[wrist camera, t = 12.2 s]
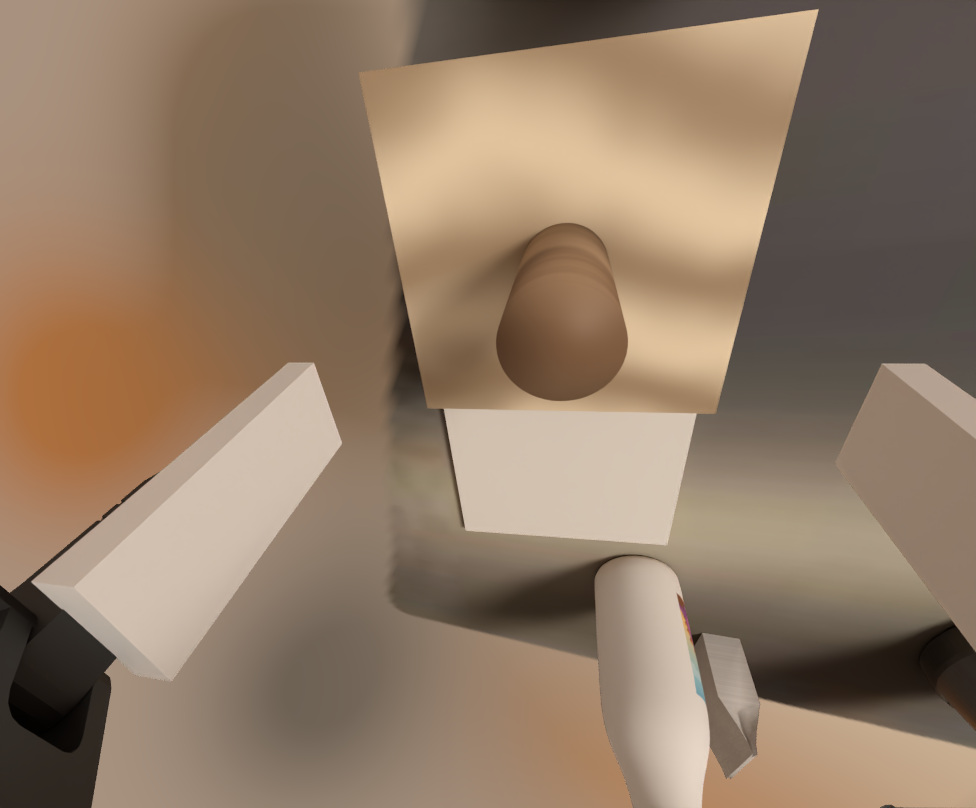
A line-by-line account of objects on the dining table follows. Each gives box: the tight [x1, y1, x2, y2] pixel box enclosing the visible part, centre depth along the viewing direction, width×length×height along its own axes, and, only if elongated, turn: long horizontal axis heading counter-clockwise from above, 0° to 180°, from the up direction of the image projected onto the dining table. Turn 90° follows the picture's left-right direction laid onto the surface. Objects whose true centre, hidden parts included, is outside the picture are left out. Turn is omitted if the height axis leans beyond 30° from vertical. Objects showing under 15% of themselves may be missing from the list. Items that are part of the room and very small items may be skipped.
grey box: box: [694, 633, 760, 779], centre depth 42 cm, size 4×7×10 cm, turn 179°
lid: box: [359, 9, 819, 414], centre depth 17 cm, size 16×16×9 cm
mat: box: [444, 409, 697, 545], centre depth 34 cm, size 18×18×1 cm
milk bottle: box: [595, 556, 710, 808], centre depth 33 cm, size 8×8×20 cm
